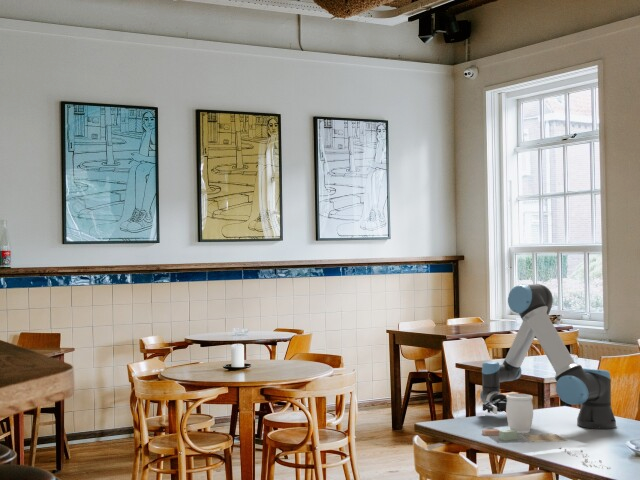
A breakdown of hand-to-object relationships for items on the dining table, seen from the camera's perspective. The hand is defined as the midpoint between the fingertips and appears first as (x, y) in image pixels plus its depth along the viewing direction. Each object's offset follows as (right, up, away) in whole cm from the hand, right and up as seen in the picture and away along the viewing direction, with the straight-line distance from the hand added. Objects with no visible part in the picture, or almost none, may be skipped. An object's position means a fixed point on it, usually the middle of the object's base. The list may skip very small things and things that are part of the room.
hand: (512, 410), depth 328 cm
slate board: (-7, -7, -22) cm, 24 cm away
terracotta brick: (-12, -8, -13) cm, 19 cm away
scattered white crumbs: (+13, -7, -51) cm, 53 cm away
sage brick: (-7, -6, -22) cm, 24 cm away
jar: (+1, -8, -7) cm, 11 cm away
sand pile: (+7, -7, -21) cm, 23 cm away
